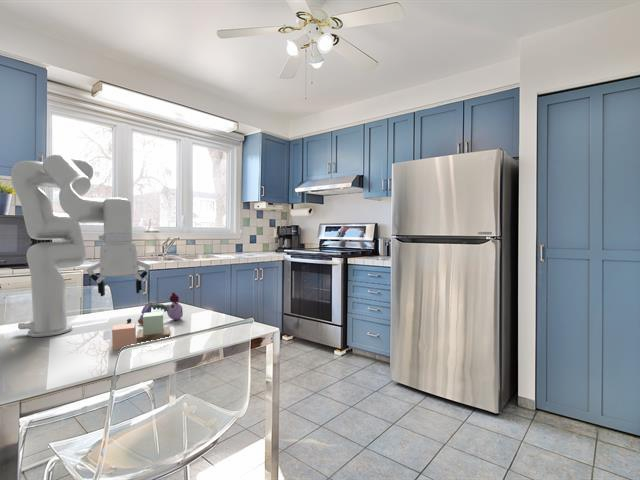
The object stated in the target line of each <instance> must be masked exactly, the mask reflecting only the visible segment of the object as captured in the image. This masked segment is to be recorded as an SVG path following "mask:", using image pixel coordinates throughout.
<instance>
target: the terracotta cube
mask: <svg viewBox="0 0 640 480" xmlns="http://www.w3.org/2000/svg"><path fill="white" fill-rule="evenodd" d="M136 329H137V328H136V323H135V322H131V323H130V324H126V323H123V324H121V323H120V324H114V325H113V327H112V329H111V337H112V338H111V339H112V342H111V343H112V350H119V349H123V348H122V347H124V346H127V345H131V344H135V345H136V343H137V342H136V336H137V330H136Z"/></svg>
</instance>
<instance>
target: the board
mask: <svg viewBox="0 0 640 480" xmlns="http://www.w3.org/2000/svg"><path fill="white" fill-rule="evenodd" d="M169 336H170V337H171V327H170V326H163V333H159V334H150V335H143V328H141V329H138V330H137V332H136V343H143V342H150V340H152V341H157V340H156V339H160V338H165V337H169Z"/></svg>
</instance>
